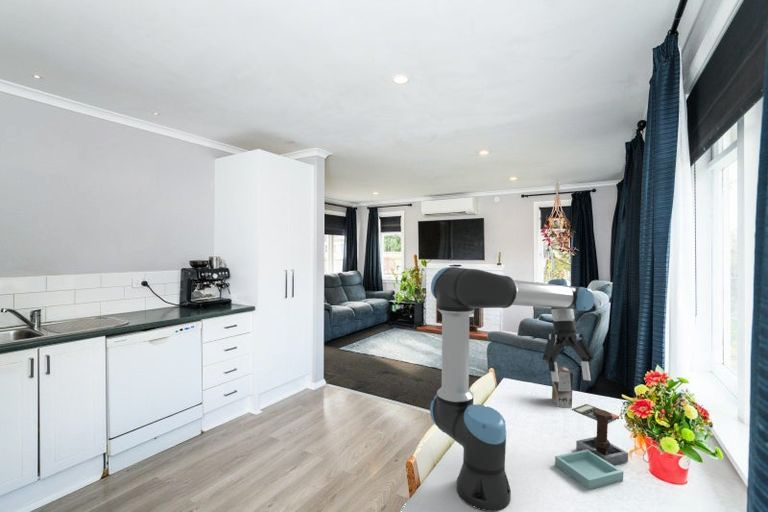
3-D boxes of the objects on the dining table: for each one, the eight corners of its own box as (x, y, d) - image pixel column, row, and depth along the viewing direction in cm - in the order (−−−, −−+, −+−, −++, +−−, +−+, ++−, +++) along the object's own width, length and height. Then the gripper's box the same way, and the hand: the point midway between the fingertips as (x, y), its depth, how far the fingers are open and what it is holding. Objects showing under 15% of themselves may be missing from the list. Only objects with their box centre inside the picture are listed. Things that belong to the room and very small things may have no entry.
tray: (589, 489, 108) (589, 480, 108) (554, 464, 120) (555, 456, 120) (623, 480, 112) (623, 471, 112) (587, 457, 124) (587, 449, 124)
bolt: (612, 461, 123) (614, 417, 122) (596, 459, 124) (597, 415, 123) (606, 451, 128) (607, 409, 128) (590, 449, 129) (591, 408, 129)
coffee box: (572, 408, 164) (573, 372, 163) (557, 406, 165) (558, 371, 164) (565, 399, 173) (566, 366, 172) (551, 398, 174) (552, 365, 174)
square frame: (605, 467, 119) (605, 458, 119) (576, 449, 130) (576, 440, 130) (627, 461, 122) (628, 452, 122) (597, 444, 133) (598, 436, 133)
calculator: (606, 422, 149) (571, 408, 162) (606, 425, 149) (571, 410, 162) (621, 416, 155) (586, 403, 168) (621, 418, 155) (586, 405, 168)
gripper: (583, 321, 142) (591, 378, 137) (528, 321, 136) (534, 381, 130) (599, 320, 135) (608, 380, 130) (541, 319, 129) (549, 382, 123)
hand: (571, 380), depth 130 cm, fingers open, 13 cm apart
